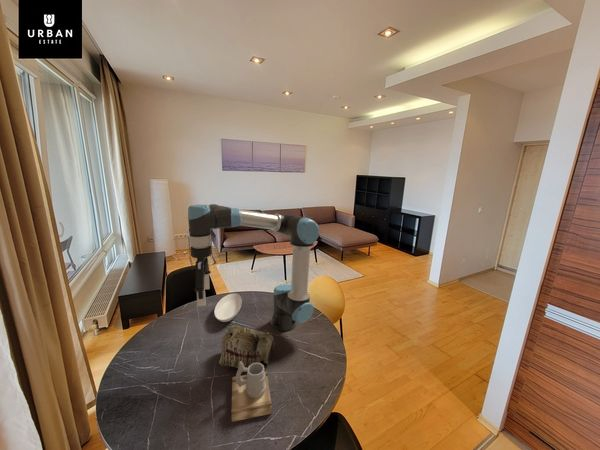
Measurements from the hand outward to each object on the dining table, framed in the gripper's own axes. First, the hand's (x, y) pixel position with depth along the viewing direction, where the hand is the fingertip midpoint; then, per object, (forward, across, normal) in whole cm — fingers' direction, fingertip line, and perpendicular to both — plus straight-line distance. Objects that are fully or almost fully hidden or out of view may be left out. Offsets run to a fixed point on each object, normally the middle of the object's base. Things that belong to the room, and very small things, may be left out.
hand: (204, 296), depth 97 cm
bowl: (+37, -46, +7) cm, 59 cm away
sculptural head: (+37, -6, +16) cm, 41 cm away
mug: (+34, +14, +17) cm, 41 cm away
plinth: (+37, +15, +17) cm, 43 cm away
